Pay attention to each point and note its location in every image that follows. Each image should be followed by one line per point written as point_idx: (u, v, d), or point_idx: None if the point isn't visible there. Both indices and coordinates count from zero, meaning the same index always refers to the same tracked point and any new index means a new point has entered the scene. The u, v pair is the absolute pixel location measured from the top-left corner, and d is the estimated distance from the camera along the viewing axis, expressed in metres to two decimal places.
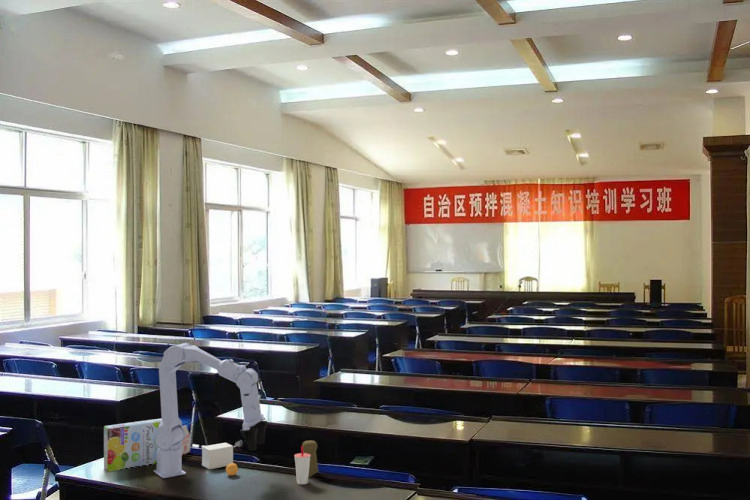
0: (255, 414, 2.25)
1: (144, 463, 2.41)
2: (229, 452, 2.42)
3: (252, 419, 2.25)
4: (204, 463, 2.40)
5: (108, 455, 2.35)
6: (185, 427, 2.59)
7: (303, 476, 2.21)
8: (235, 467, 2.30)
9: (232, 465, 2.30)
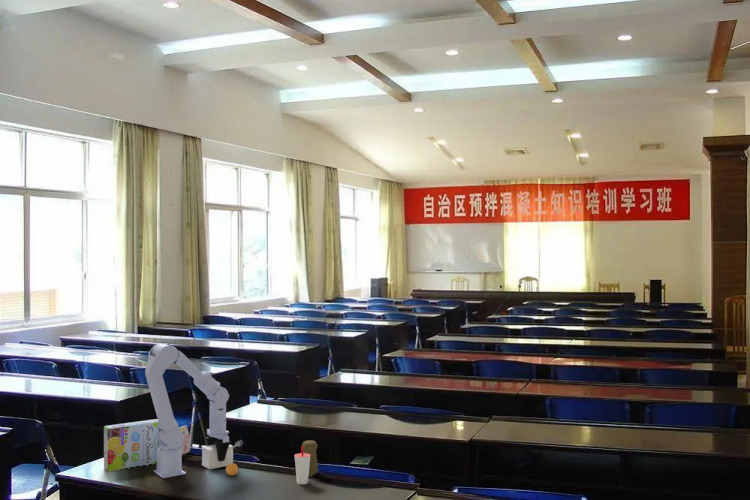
0: (225, 427, 2.42)
1: (144, 463, 2.41)
2: (229, 452, 2.42)
3: (223, 432, 2.41)
4: (204, 463, 2.40)
5: (108, 455, 2.35)
6: (185, 427, 2.59)
7: (303, 476, 2.21)
8: (235, 467, 2.30)
9: (232, 465, 2.30)
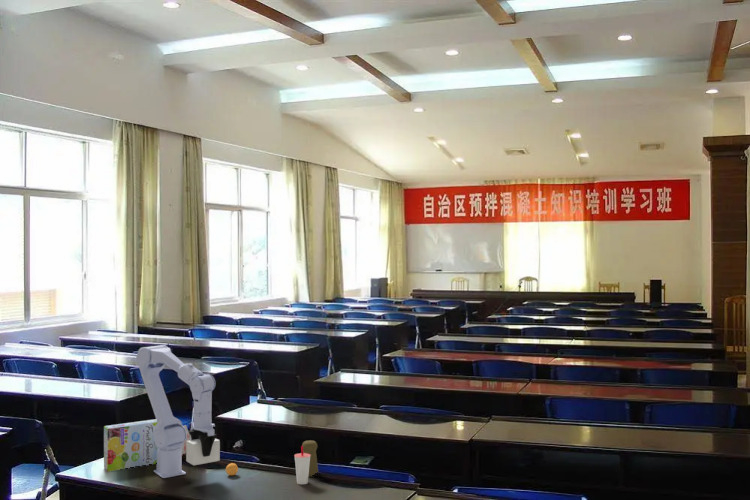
0: (210, 420, 2.24)
1: (144, 463, 2.41)
2: (215, 447, 2.24)
3: (208, 425, 2.23)
4: (188, 459, 2.23)
5: (108, 455, 2.35)
6: (185, 427, 2.59)
7: (303, 476, 2.21)
8: (235, 467, 2.30)
9: (232, 465, 2.30)
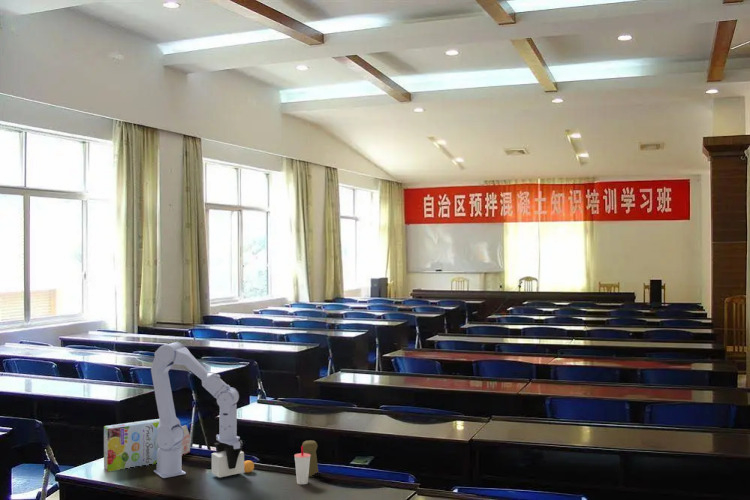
0: (236, 433, 2.30)
1: (144, 463, 2.41)
2: (240, 459, 2.29)
3: (233, 438, 2.28)
4: (214, 471, 2.28)
5: (108, 455, 2.35)
6: (185, 427, 2.59)
7: (303, 476, 2.21)
8: (249, 470, 2.33)
9: None
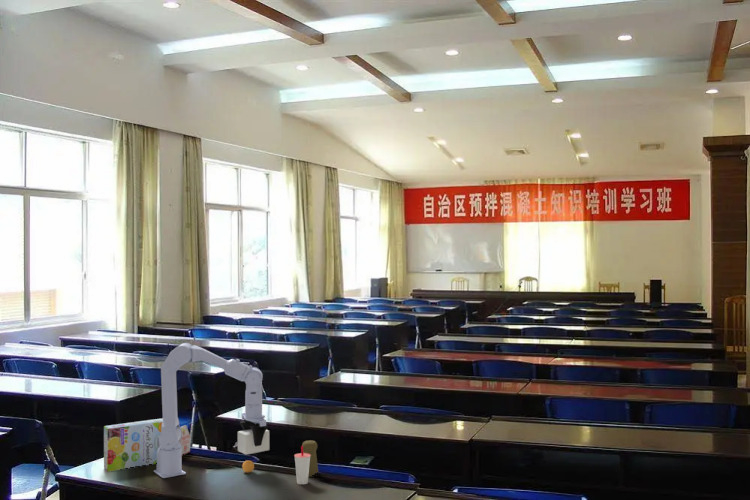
0: (261, 411, 2.35)
1: (144, 463, 2.41)
2: (265, 437, 2.35)
3: (259, 416, 2.34)
4: (240, 448, 2.34)
5: (108, 455, 2.35)
6: (185, 427, 2.59)
7: (303, 476, 2.21)
8: (249, 470, 2.33)
9: None
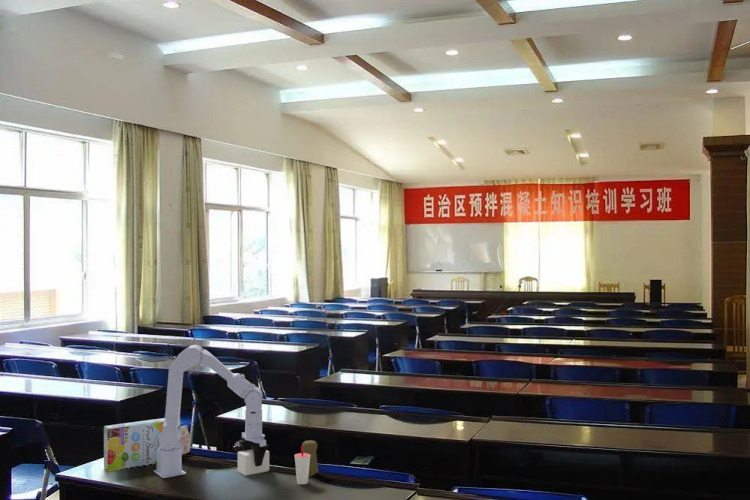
0: (261, 431, 2.35)
1: (144, 463, 2.41)
2: (265, 458, 2.35)
3: (259, 436, 2.34)
4: (240, 469, 2.33)
5: (108, 455, 2.35)
6: (185, 427, 2.59)
7: (303, 476, 2.21)
8: None
9: None
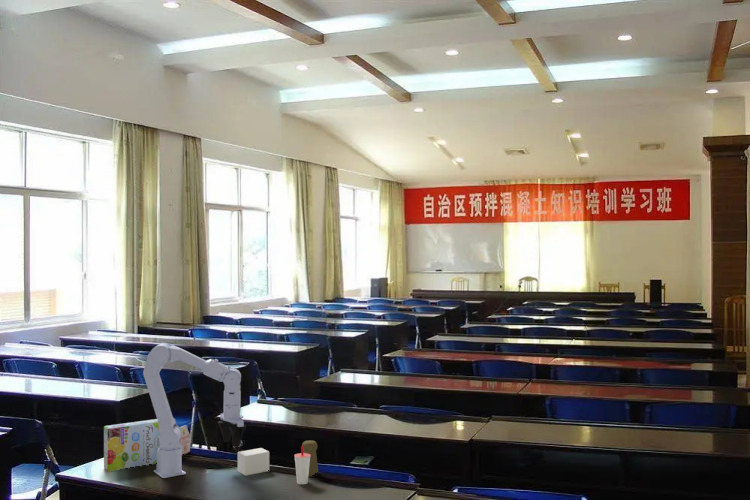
0: (239, 412, 2.35)
1: (144, 463, 2.41)
2: (265, 458, 2.35)
3: (237, 416, 2.34)
4: (240, 469, 2.33)
5: (108, 455, 2.35)
6: (185, 427, 2.59)
7: (303, 476, 2.21)
8: None
9: None
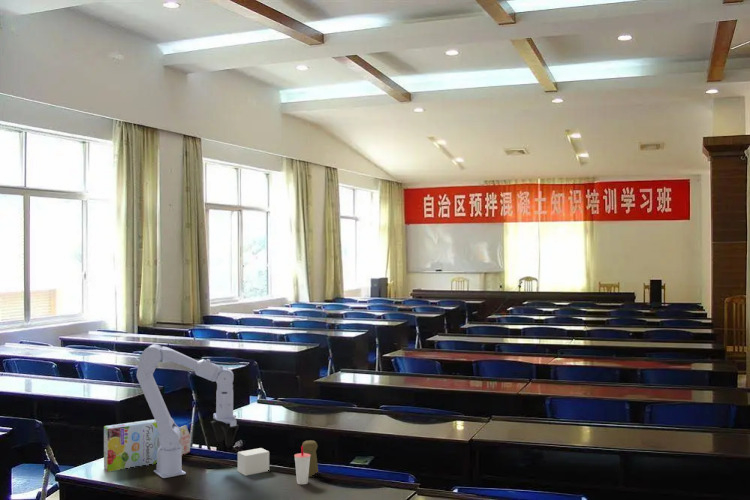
0: (232, 411, 2.35)
1: (144, 463, 2.41)
2: (265, 458, 2.35)
3: (230, 416, 2.34)
4: (240, 469, 2.33)
5: (108, 455, 2.35)
6: (185, 427, 2.59)
7: (303, 476, 2.21)
8: None
9: None
